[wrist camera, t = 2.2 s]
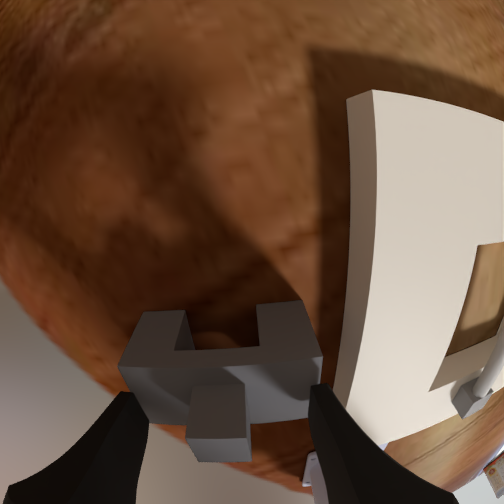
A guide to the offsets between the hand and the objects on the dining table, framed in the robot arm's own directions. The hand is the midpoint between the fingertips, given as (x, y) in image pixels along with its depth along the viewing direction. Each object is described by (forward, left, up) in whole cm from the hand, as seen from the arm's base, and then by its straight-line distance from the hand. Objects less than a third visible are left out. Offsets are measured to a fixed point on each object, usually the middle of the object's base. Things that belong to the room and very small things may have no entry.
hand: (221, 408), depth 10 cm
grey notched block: (0, 0, -4) cm, 4 cm away
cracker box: (-103, -100, -5) cm, 144 cm away
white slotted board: (0, -17, -4) cm, 18 cm away
